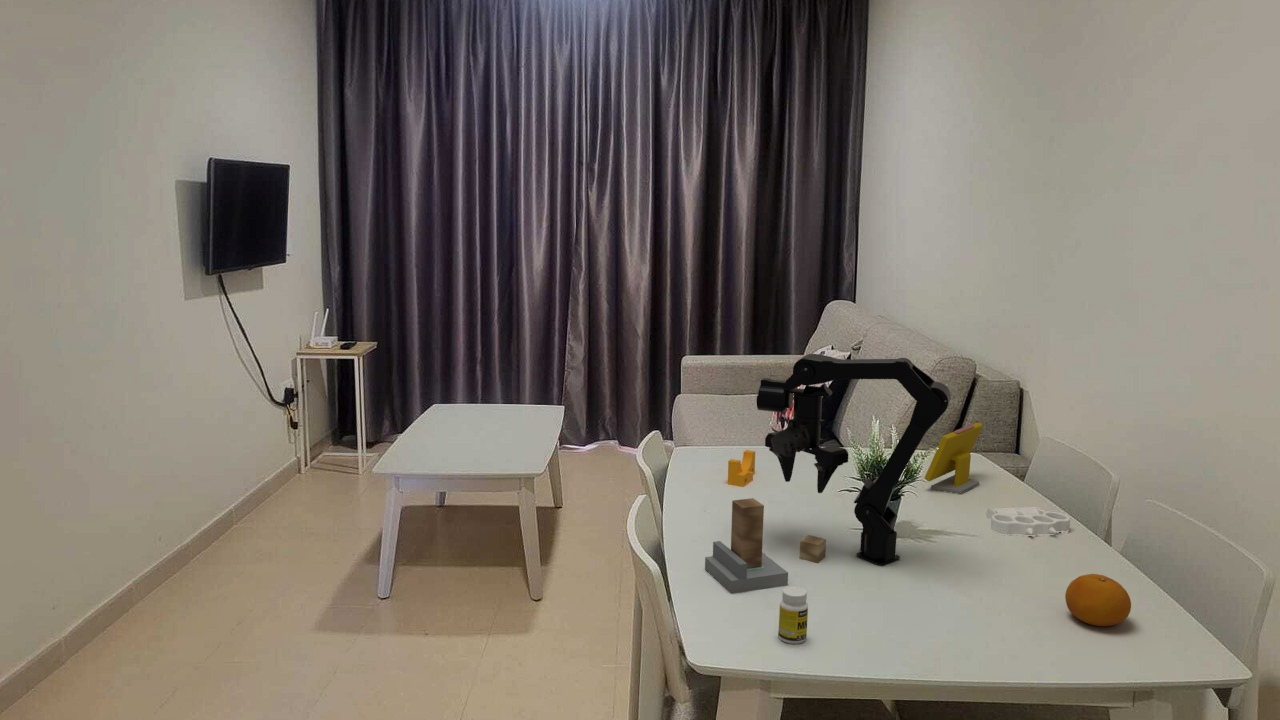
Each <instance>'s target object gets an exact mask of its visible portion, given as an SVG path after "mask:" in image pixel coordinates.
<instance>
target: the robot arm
mask: <svg viewBox="0 0 1280 720" xmlns="http://www.w3.org/2000/svg"><path fill="white" fill-rule="evenodd" d="M838 380H897V381H898V383H900V384H901V386H902V387H903V388H904V389H905V391H906V392H907V393H908V394H909V395H910V396H911V397H912V398H913V399H914V400H915V401H916V402H915V405H914V409H913V411H912V415H911V417H910V421H909V424H908V426H907V427H906V429H904V430H905V431H904V432H903V434H902V436H901V438H900V439H899V441H898V443H897V444H896V446H895V447H894V449H893V451H892V452H891V455H890V456H889V458H888V460H887V462H886V463H885V464H884V467H883V469H882V470H881V472H880V473H879V475H878V477H877V478H875V480H874V481H873V480H871V479H870V478H867V479H866V481H865V483H864V484H863V486H862V488H861V491H859V492H858V494H857V496H856V497H855V499H854V500H853V504H856V505H855V506H854V510H853V512H854V515H855V518H856V519H857V521H859V522H860V523H861V524H862V531H861V533H860V549H859V550H860V552H857V553H855V554H856V556H855V557H858V558H859V559H863V560H865V561H867V562H870V563H873V564H876V565H878V566H884V565H886V564H890V563H893V562H895V561H898V560H900V559H901V556H900V555H897V554H896V553H897V552H896V551H897V549H896V547H897V534H898V532H897V531H895V530H894V526H895V523H896V522H897V519H898V515H897V513H896V512H895V511H894V510H893V509H892V508H891V506H889V504H890V500H891V498H892V495H893V491H894V488H895V486H896V484H897V482H898V481H899V479H900V478H901V476H902V474H903V472H904V470H905V469H906V467H907V466H908V463H909V462H910V460H911V458H912V457H913V455H914V453H915V452H916V450H917V448H918V447H919V445H920V443H921V441H922V440H923V438H924V436H925V434H926V433H927V432H928V431H929V430H930V429H931V427H932V426H934V424H935V423H936V422H938V420H939V419H940V418H941V416H942V415H943V414H944V413H945V412H946V411H947V409H948V407H949V404H950V403H951V401H952V400H951V399H952V398H951V397H952V394H951V391H950V389H949V387H948V386H947V385H945V383H943V382H939V381H935V380H934V379H933V378H932V377H931V376H929V375H928V374H927V373H926V372H925V371H924V370H921V369H920V368H919V367H918V366H916V365H915V364H914V363H913V362H912V361H911V360H910V359H909V358H907V357H899V358H868V359H867V358H864V359H863V358H861V359H860V358H858V359H857V358H855V359H853V358H852V359H843V358H836V357H832V356H829V355H825V354H818V353H817V354H816V353H808V354H806V355H804V356H803V357H801V358H800V359H798V360H797V361H796V362H795V363H794V365H793V368H792V374H791V375H790V376H789V377H788V378H787V379H786V380H777V379H773V378H772V379H771V378H765V377H763V378H762V379H761V380H760V386H759V389H758V393H757V395H756V408H757V410H759V411H763V412H775V413H784V414H785V413H787V410H789V409H790V410H791V409H792V406H793V411H792V413H793V416H792V418H789V419H788V421H787V427H786V428H785V429H782V430H778V431H774V432H769V433H767V435H766V437H765V438H764V446H765V448H766V447H767V448H768V451H769V452H771V453H773V454H774V455H775V456H776V457H777V460H778V462H779V464H780V467H781V468H780V469H781V471H782V475H783V478H784V482H786V483H789V482H790V481H791V478H792V475H793V471H794V465H795V460H796V455H797V453H800V452H804V453H807V454H810V455H813V456H814V460H816V462H815V463H813V465H814V467H815V468H816V470H817V484H816V488H817V493H818V494H822V493H823V492H824V490H825V489H826V488H827V487H826V486H827V485H828V483H829V482H830V480H831V478H832V476H833V474H834V473H835V471H836V470H837V468H838V467H841V466H843V465H844V464H847V463H849V451H848V450H847V449H846V448H844V447H841V446H837V445H833V444H832V445H827V446H823V447H822V446H821V445H824V444H825V439H824V438H821V428H822V426H825V425H826V420H825V419H822V410H823V409H822V407H823V406H822V404H823V398H829V397H830V396H831V395H832V394H833V391H832V389H830V388H829V387H828V385H827V384H826V383H828V382H832V381H838ZM820 384H821V385H820ZM815 385H816V386H815ZM817 385H820V386H817ZM799 386H804V388H798V387H799Z"/></svg>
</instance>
